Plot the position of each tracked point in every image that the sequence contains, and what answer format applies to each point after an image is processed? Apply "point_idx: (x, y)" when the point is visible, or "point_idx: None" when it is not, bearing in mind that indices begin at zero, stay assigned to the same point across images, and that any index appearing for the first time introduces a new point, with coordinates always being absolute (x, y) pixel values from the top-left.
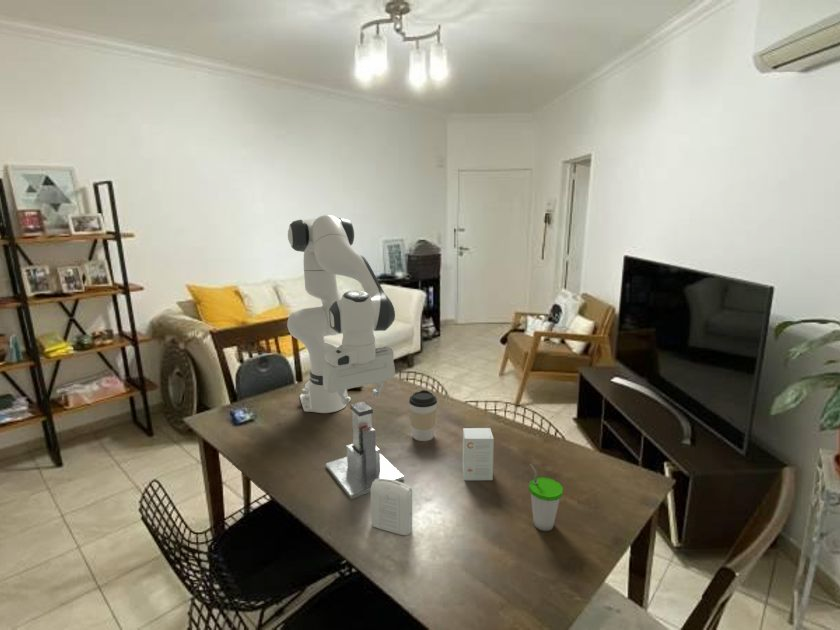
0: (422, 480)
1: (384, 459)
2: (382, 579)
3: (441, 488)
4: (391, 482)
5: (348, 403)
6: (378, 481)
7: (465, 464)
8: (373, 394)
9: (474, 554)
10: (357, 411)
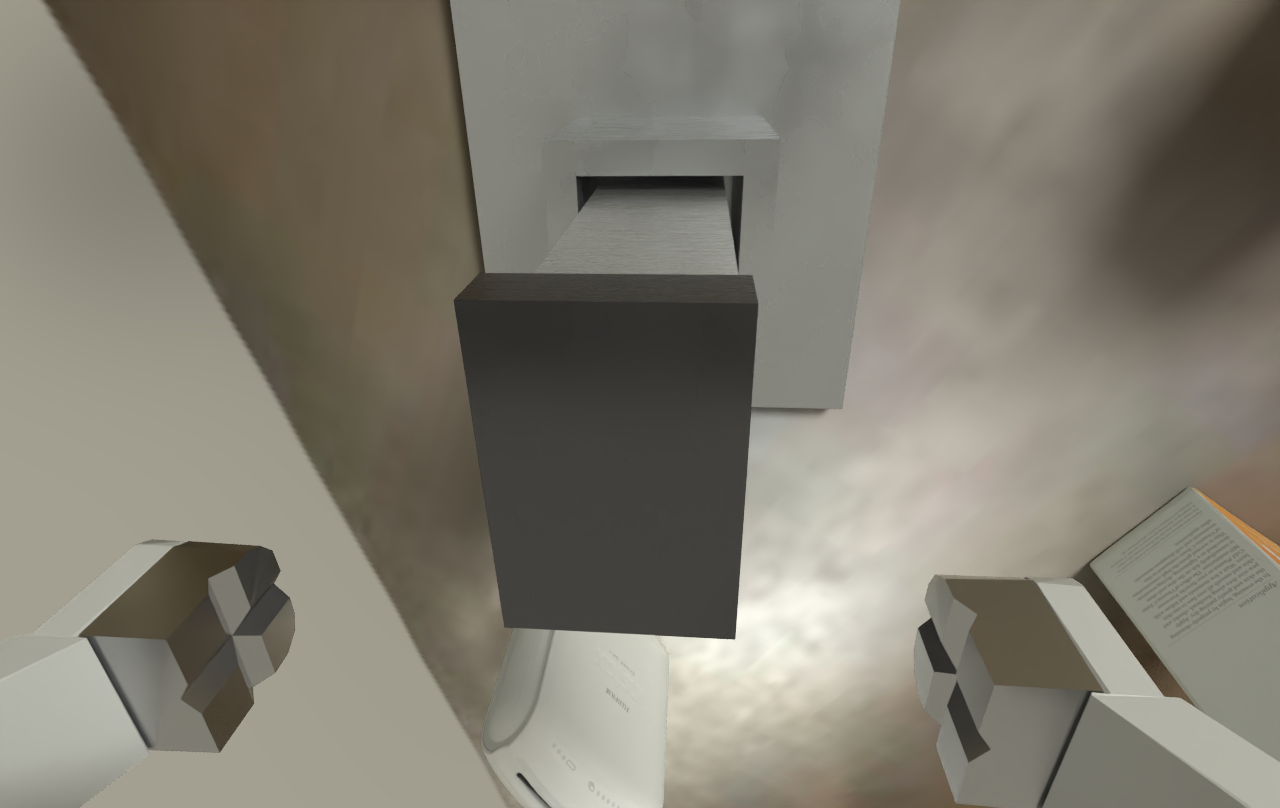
0: (918, 453)
1: (861, 172)
2: (479, 740)
3: (944, 548)
4: None
5: (281, 643)
6: (510, 787)
7: (1146, 640)
8: (941, 616)
9: (767, 803)
10: (499, 568)
